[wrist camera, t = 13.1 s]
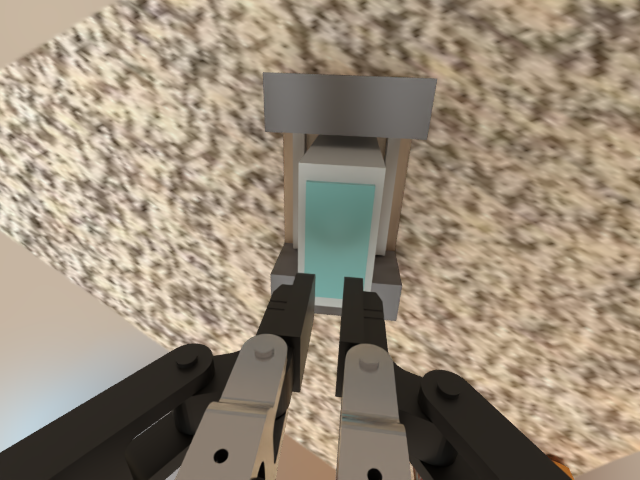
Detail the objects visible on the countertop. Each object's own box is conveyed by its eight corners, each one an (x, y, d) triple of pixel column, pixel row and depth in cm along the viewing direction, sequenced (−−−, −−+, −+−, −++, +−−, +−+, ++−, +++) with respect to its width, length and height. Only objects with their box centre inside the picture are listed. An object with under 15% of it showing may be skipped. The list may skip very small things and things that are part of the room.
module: (376, 137, 23) (386, 169, 15) (365, 240, 27) (368, 313, 18) (319, 134, 23) (297, 164, 15) (315, 236, 27) (296, 306, 19)
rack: (416, 78, 23) (437, 78, 17) (388, 273, 29) (396, 320, 24) (286, 74, 23) (262, 72, 17) (288, 264, 30) (271, 309, 24)
